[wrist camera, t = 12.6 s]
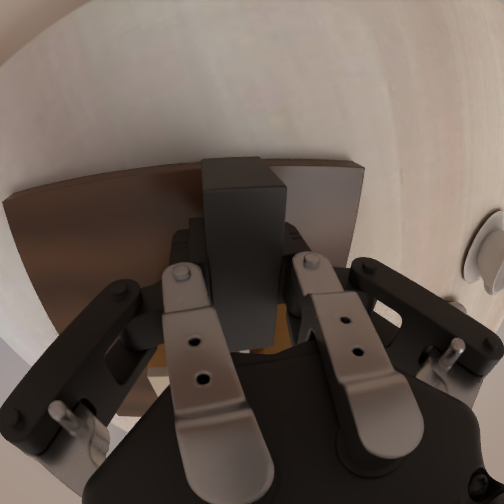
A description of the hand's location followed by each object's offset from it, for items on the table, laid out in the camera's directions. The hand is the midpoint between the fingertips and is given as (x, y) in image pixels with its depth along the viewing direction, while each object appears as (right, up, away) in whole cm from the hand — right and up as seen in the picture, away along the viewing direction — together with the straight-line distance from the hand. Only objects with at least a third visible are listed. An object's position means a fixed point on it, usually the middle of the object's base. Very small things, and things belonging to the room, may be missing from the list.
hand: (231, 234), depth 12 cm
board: (-4, -7, +8) cm, 12 cm away
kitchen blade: (0, -4, +3) cm, 5 cm away
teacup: (+29, 0, +11) cm, 31 cm away
